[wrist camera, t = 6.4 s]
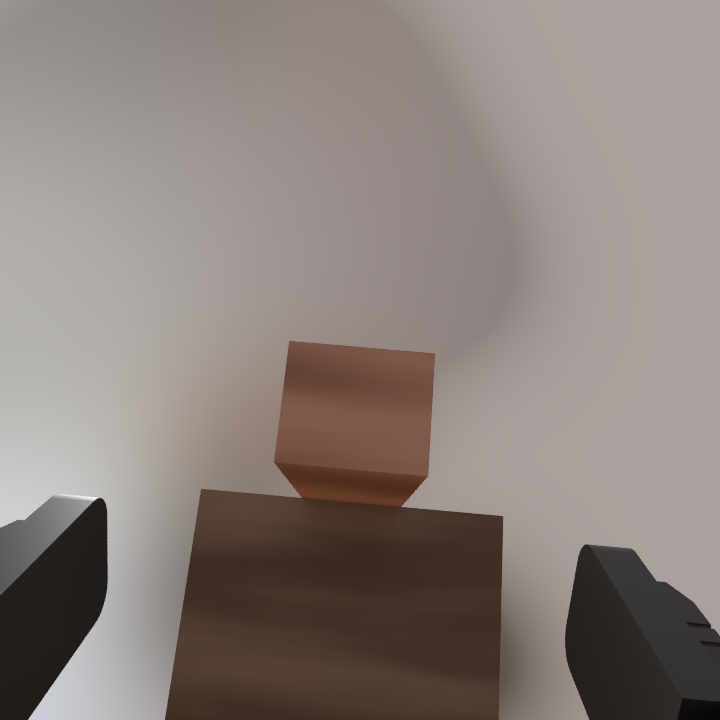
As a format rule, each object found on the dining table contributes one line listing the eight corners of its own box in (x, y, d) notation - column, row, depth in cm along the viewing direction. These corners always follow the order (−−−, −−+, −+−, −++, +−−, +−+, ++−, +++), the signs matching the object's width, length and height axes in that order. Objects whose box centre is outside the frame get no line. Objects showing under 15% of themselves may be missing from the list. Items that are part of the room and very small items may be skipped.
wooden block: (427, 475, 15) (434, 353, 16) (273, 461, 15) (289, 340, 16) (382, 527, 38) (386, 476, 39) (321, 522, 38) (326, 470, 39)
